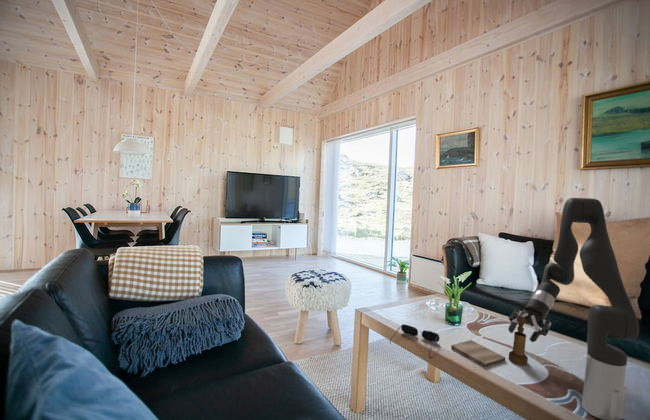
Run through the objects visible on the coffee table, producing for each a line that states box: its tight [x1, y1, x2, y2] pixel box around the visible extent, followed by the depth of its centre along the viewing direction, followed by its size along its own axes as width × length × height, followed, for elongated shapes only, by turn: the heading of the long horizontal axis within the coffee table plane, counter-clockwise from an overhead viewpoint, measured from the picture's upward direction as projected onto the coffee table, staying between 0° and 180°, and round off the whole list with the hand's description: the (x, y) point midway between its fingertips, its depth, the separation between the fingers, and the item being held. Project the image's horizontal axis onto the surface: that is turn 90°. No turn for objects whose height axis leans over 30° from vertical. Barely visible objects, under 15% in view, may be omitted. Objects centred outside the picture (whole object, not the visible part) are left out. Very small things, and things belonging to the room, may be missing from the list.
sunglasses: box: [389, 323, 440, 356], centre depth 143 cm, size 17×15×5 cm
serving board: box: [450, 339, 506, 368], centre depth 135 cm, size 16×12×2 cm
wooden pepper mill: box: [508, 315, 529, 366], centre depth 131 cm, size 7×6×18 cm
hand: (520, 336), depth 131 cm, fingers open, 8 cm apart
